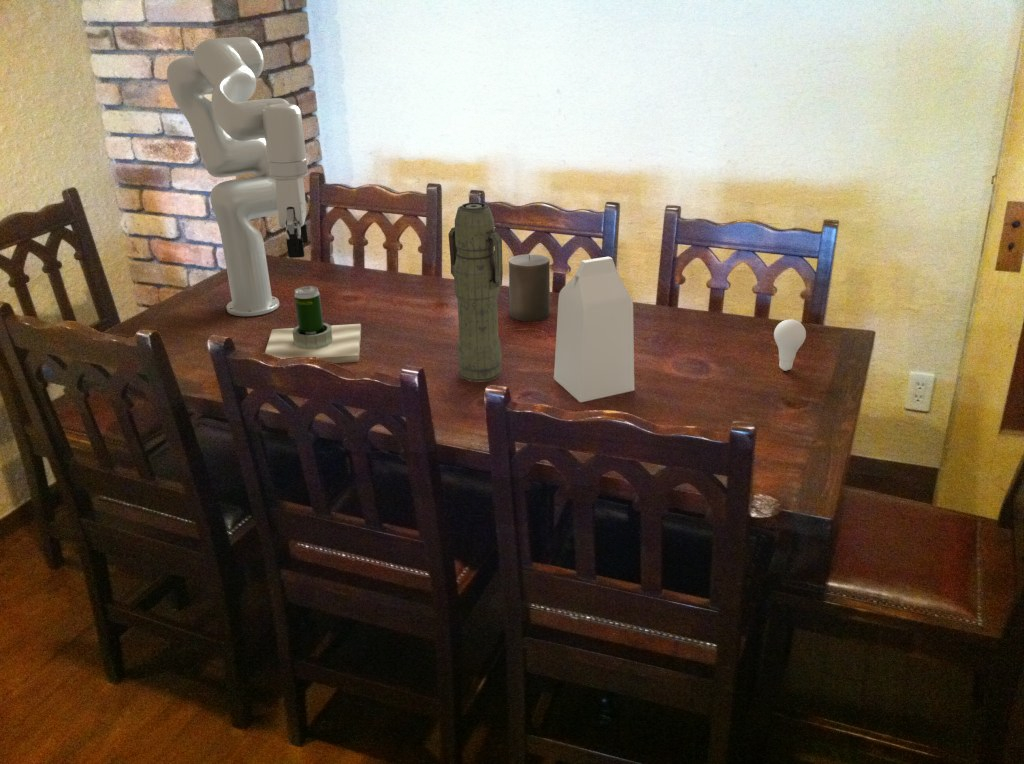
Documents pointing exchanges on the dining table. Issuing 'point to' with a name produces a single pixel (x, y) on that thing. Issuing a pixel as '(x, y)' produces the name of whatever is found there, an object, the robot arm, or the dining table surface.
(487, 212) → the thermos
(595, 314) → the milk
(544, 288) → the pillar candle
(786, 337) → the lightbulb
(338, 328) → the carrier plate
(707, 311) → the dining table surface
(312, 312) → the beer can
